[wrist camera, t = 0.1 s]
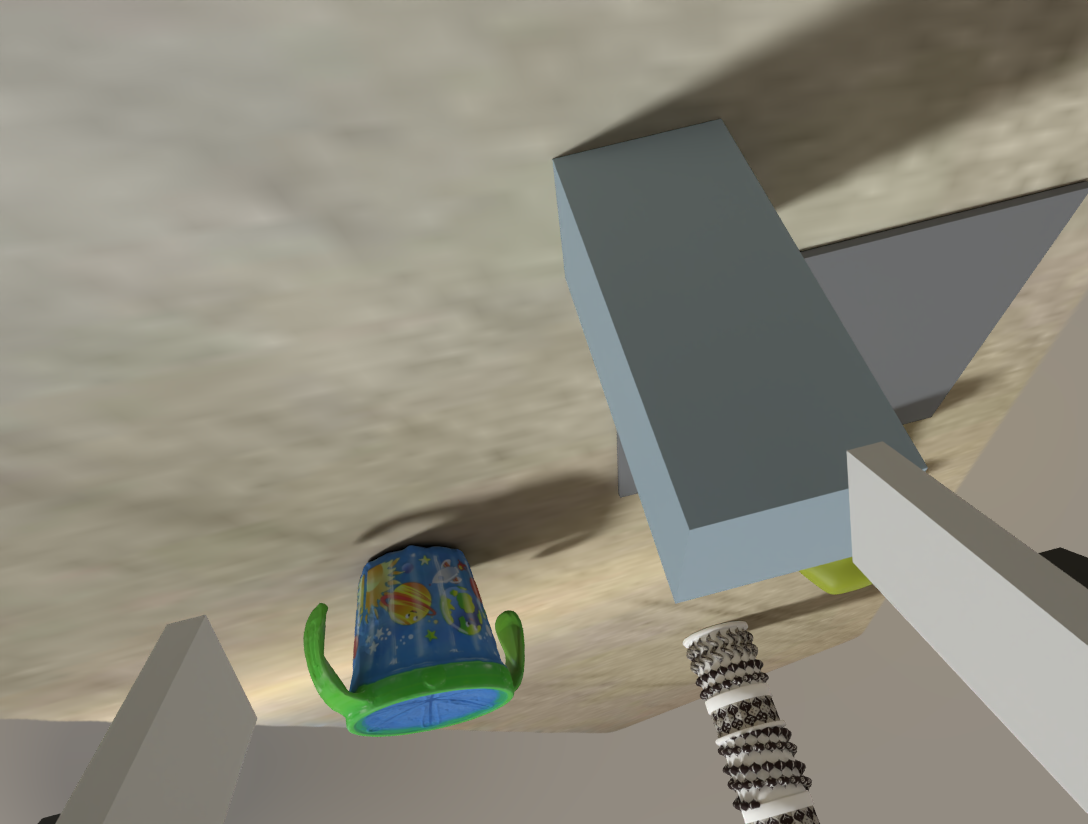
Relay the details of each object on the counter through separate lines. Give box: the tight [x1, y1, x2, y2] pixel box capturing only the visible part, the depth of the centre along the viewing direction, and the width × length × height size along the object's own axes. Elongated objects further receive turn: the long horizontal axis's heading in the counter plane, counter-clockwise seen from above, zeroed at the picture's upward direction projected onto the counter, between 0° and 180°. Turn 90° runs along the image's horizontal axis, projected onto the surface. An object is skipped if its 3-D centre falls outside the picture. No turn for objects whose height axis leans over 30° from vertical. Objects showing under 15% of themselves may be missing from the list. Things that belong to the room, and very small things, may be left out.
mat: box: [617, 181, 1088, 498], centre depth 40 cm, size 20×22×1 cm
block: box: [553, 119, 928, 604], centre depth 23 cm, size 6×6×14 cm
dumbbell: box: [799, 557, 873, 595], centre depth 52 cm, size 16×8×7 cm, turn 14°
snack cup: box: [304, 545, 525, 737], centre depth 48 cm, size 16×10×10 cm
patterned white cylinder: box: [683, 621, 820, 824], centre depth 84 cm, size 9×9×25 cm
